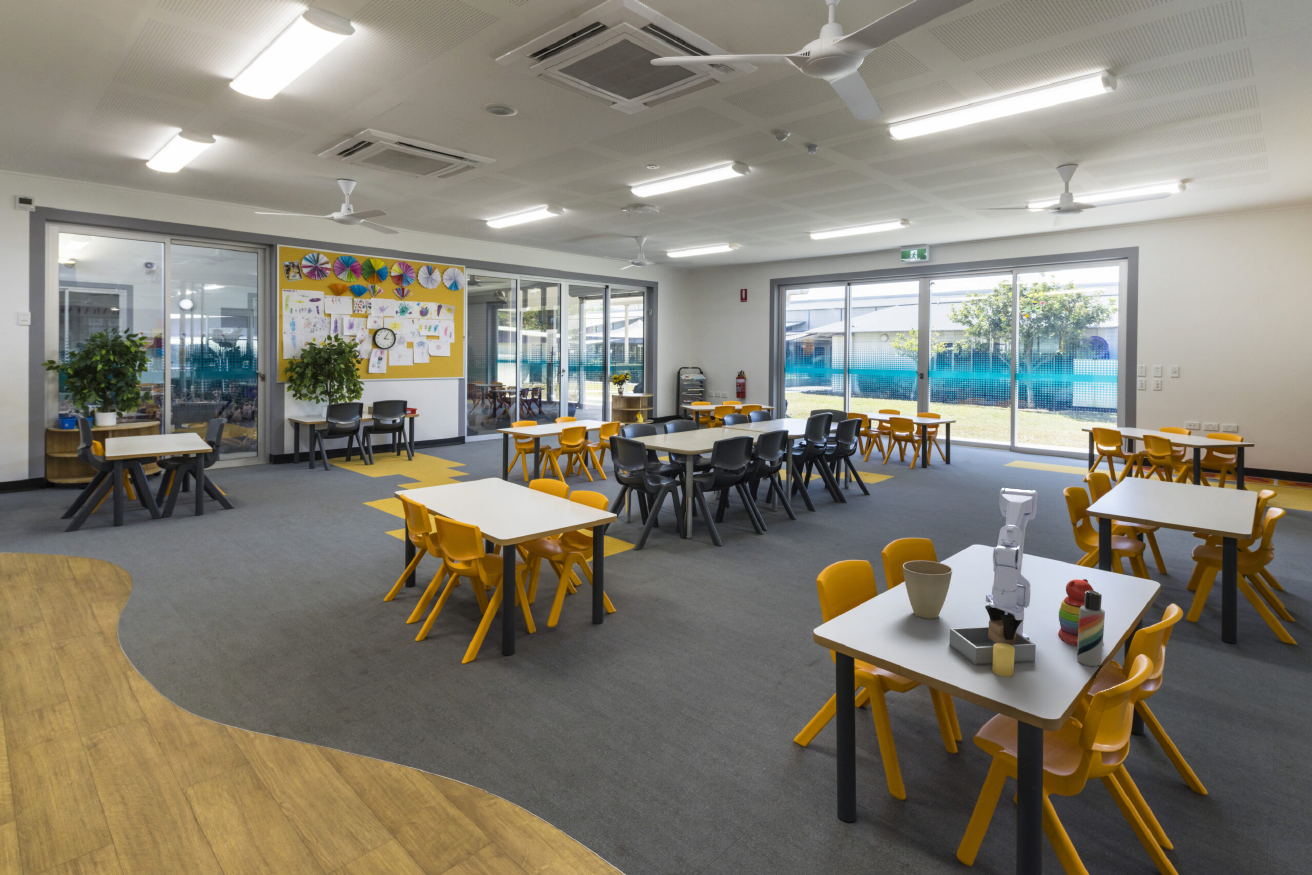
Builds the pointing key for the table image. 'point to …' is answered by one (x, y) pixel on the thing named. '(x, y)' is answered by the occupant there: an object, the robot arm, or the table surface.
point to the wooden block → (998, 633)
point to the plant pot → (927, 586)
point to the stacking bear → (1072, 610)
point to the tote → (987, 646)
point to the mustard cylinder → (1003, 659)
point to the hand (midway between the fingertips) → (1002, 635)
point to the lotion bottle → (1091, 630)
